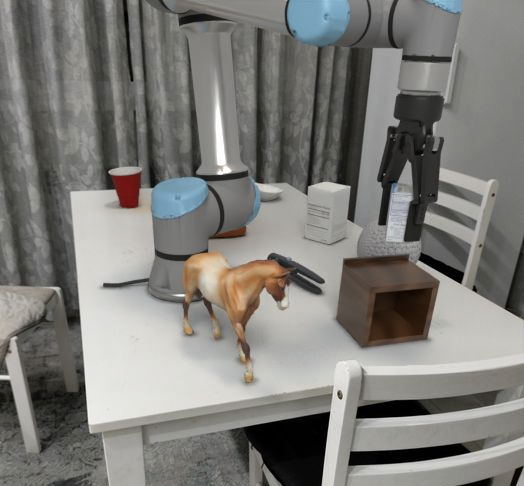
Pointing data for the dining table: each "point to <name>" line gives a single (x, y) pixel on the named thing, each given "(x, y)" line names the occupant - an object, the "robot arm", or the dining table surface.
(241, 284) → the horse figurine
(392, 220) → the medicine box
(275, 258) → the can opener
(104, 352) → the dining table surface
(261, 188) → the spoon rest
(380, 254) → the decorative ball
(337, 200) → the white product box
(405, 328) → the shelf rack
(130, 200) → the plastic cup
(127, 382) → the dining table surface
